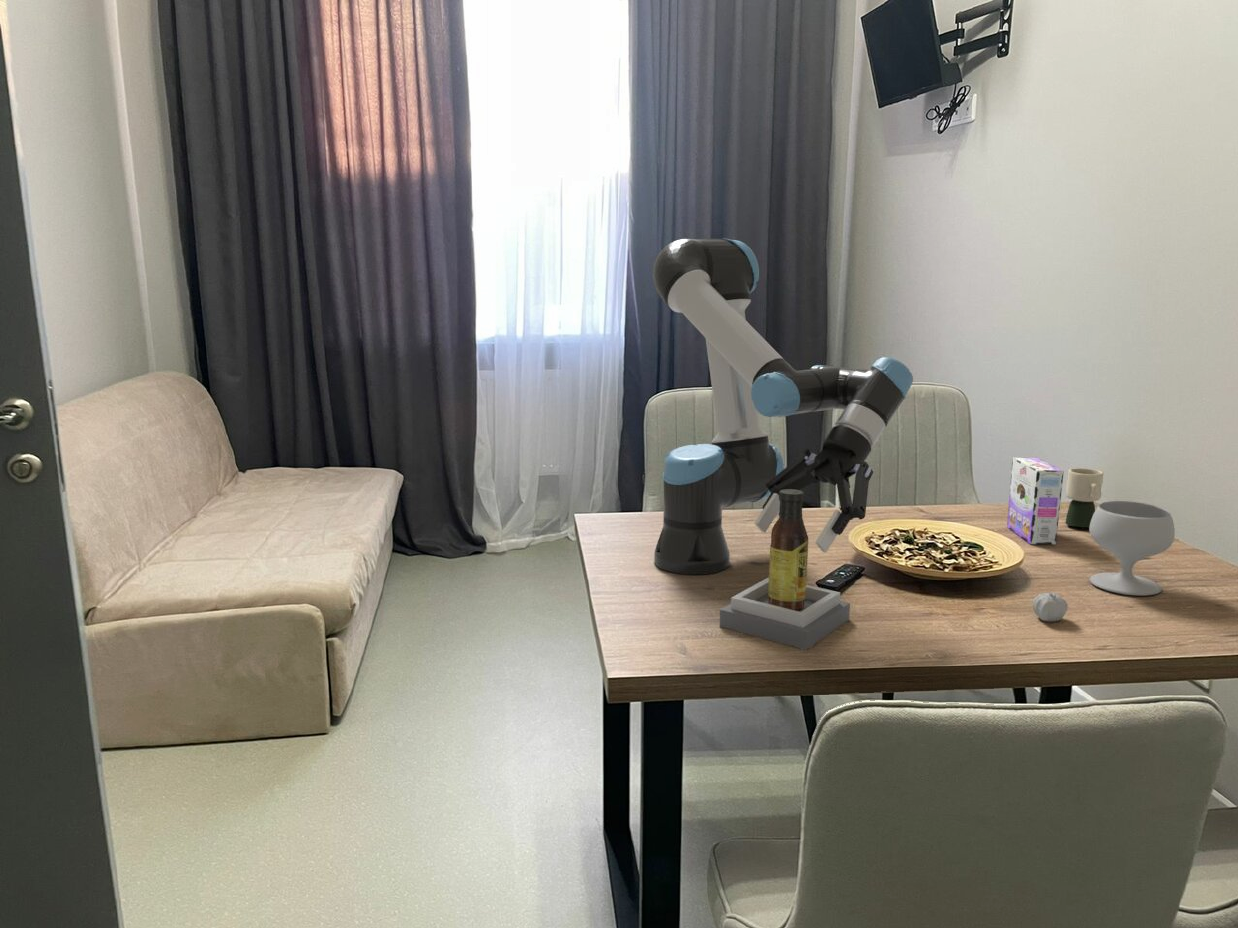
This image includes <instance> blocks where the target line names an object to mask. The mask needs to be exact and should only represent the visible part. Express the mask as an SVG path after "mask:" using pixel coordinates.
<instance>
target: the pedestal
mask: <svg viewBox="0 0 1238 928" xmlns="http://www.w3.org/2000/svg"><path fill="white" fill-rule="evenodd" d="M768 586H769V576H768V577H767V578H765V579H763V580H762V581H759V582H757V583H756V584H753V585H751V586H749V587H748V588H746V589H744V590H742V591H741V592H739V593H737V594H736V595H733V596H732V597H730V603H729V604H727V605H726V606H724V607H722V608H720V609H719V627H721V628H725V629H727V630H731V631H734V632H735V631H736V632H739V633H743V634H746V635H750V636H754V637H758V638H761V639H764V640H768V641H773V642H775V643H779V644H783V645H787V646H790V647H794V648H796V649H797V648H798V649H801V650H805V651H806V650H808V649H810V648H811V647H813V646H815V644H816V643H818V642H820V641H822V640H823V639H824V638H825V637H827V636H828V635H829V634H831V633H832V632H834V631H835V630H837V629H838V628H840V627H841V626H842V625H844V624H845V623H847V622H848V621H850V610H851V602H847V601H843V600H841V591H837V590H836V591H835V590H831V589H827V588H824V587H823V588H822V587H818V586H813V585H809V584H806V597H805V603H804V606H803V608H801V609H799V610H791V609H786V608H782V607H778V606H774V605H770V604H769V603H768V600H769V596H768Z"/></svg>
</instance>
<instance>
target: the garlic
mask: <svg viewBox="0 0 1238 928" xmlns="http://www.w3.org/2000/svg"><path fill="white" fill-rule="evenodd" d="M1068 607H1069V605H1068V603H1067V600H1065V598H1063V597H1061V596H1060V595H1059V594H1057V593H1054V592H1053V591H1049V592H1043V593H1039V594H1038V595H1037V596H1035V597H1034V599H1033V601H1032V610H1033V612H1034V614H1035V615H1036V616H1037V617H1038V618H1039V619H1040V620H1041V621H1042V622H1057V621H1060V620H1062V619H1063V618H1064V616H1065V615H1066V613H1067V611H1068Z"/></svg>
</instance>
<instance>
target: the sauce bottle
mask: <svg viewBox="0 0 1238 928" xmlns="http://www.w3.org/2000/svg"><path fill="white" fill-rule="evenodd" d="M804 500H805V492H804V491H803V490H801V489H800V490H795V489H784V490H780V491H779V501H780V511H779V512H778V519H777V520H776V522H775V523H774V525H773V527H772V528H771V534H770V538H771V539H770V545H769V567H768V577H769V586H768V596H769V600H768V603H769V604H770V605H774V606H778V607H782V608H786V609H791V610H799V609H801V608H803V606H804V603H805V597H806V585H807V575H808V556H809V555H808V553H809V536H808V533H807V530H806V526H805V523H804V519H803V502H804Z"/></svg>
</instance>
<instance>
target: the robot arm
mask: <svg viewBox="0 0 1238 928" xmlns="http://www.w3.org/2000/svg"><path fill="white" fill-rule="evenodd" d="M758 262H759V261H758V259H757V257H756V255H755V253H754V251H753V250H752V249H751V247H750V246H748V245H747V244H746V243H745V242H742V241H740V240H738V239H737V240H735V239H729V238H723V237H722V238H681V239H677V240H674V241H672V242H670V243H669V244H666V246H665V247H664V248H662V249H661V251H660V252H659V254H658V255H657V257H656V259H655V261H654V264H653V269H652V270H653V271H652V275H653V283H654V286H655V289H656V292H657V293H658V295H659V297H660V299H661V300H663V302H665V304H666V305H667V306H668V307H669V308H670V309H671V310H672V311H673V312H675V313H679V314H682V315H684V317H685V318H686V319H687V320H688V321H689V322H690V323H691V324H692V325H693V326H694V328H695V329H697V330H698V331H699V333H700V334H701V335H702V336H703V337H704V339H705V345H706V350H707V351H706V352H707V359H708V367H709V374H710V375H709V376H710V383H711V390H712V398H713V405H714V406H713V407H714V413H715V421H716V429H717V432H716V435H715V436H714V437H713V439H712V440H711V444H709V443H698V444H696V445H695V444H688V445H684V446H680V447H676V448H674V449H672V450H671V451H670V452H668V453H667V455H666V457H665V458H664V464H663V465H664V466H663V473H662V478H663V523H662V524H663V525H662V528H661V532H660V534H659V538H658V540H657V543H656V546H655V548H654V554H653V555H654V557H653V558H654V559H653V560H654V561H653V562H654V564H655V566H656V567H658V568H660V569H661V570H664V571H667V572H669V573H673V574H674V573H675V574H680V575H681V574H682V575H706V574H714V573H718V572H721V571H725V569H727V568H728V567H729V566H730V563H731V562H730V558H731V557H730V556H731V553H730V550H729V548H728V543H727V540H726V536H725V533H724V530H723V526H722V525H723V524H722V523H723V521H722V520H723V508H728V507H732V506H738V505H742V504H747V503H757V502H759V501H761V500H764V499H766V501H765V502H764V503H763V505H762V511H760V514H759V515H758V517H757V518H756V520H754V521H755V522H754V525H755V526H756V527H757V529H759V530H760V532H761V533H764V534H766V532H767V531H768V529H769V528H770V526H771V524H772V523H773V522H774V520H775V518H776V516H777V515H779V511H780V501H779V491H780V490H784V489H795V490H800V491H801V490H802V489H804V488H806V487H807V486H809V485H811V484H817V483H819V482H821V483H824V484H825V483H826V484H828V483H829V484H830V485H832V486H836V488H837V493H838V501H839V506H840V507H838V509H840V510H838V509H835V510H834V511H833V513H832V514H831V517H830V518H829V519H828V521H827V522H826V524H825V526H824V528H823V529H822V531H821V532H820V534H819V536H818V537H817V539H816V540H815V543H814V544H816V545H817V547H818V548H819V549H820V550H821V552H822V553H827V552H828V551H829V550H830V547H831V546H832V544H833V543H834V542H835V540H836V538H837V536H838V535H839V536H841V534H843V532H844V530H845V529H846V528H847V526H848V524H849V523H850V521H852V520H853V519H857V518H858V519H859V520H863V519H864V518H865V517H866V512H867V504H868V503H867V501H868V493H869V484H870V481H871V478H872V476H873V474H874V471H873V469H872V468H871V467H870V465H869V463H867V461H866V459H867V458H868V456H869V455H870V453H871V452H872V448H874V446H875V445H876V443H877V441H878V440H879V438H880V437H881V435H882V434H883V432H884V431H885V429H886V427H887V426H888V424H889V422H890V421H891V419H892V417H893V416H894V414H895V413H896V412H897V410H898V408H900V405H901V404H902V403H903V401H904V400H905V399H906V396H907V395H908V392H909V390H910V389H911V387H912V385H913V382H914V376H913V373H912V372H911V370H910V369H909V367H907V366H906V365H905V363H903V362H901V361H899V360H897V359H895V358H892V357H887V356H883V357H880V358H878V359H877V360H875V362H873V364H872V365H871V366H870V369H865V368H864V369H863V368H862V369H861V368H851V367H842V366H835V365H833V364H828V365H827V364H825V365H823V364H822V365H820V364H816V365H813V366H812V367H810V368H809V369H803V370H801V369H800V370H796V369H794V368H793V367H792V366H791V365H790V363H788V362H787V361H786V360H785V359H784V358H783V356H782V355H780V353H779V352H777V351H776V349H774V348H773V347H772V346H771V344H769V342H768V341H766V339H765V338H764V337H763V336H762V335H761V334H760V333H759V332H758V331H757V330H756V329H755V328H754V327H753V326H752V325H751V324H750V323H749V321H747V320H746V319H747V318H746V313H745V311H746V309H747V308H748V306H749V305H750V304H751V302H752V299H751V293H753V292H754V291H755V289H756V287H757V282H759V279H760V268H759V263H758ZM834 409H835V410H843V411H842V412H841V414H840V416H839V417H838V419H837V420H836V422H835V424H834V425H835V426H833V427H831V429H830V432H829V433H828V434H827V436H826V438H824V440H823V444H822V450H821V451H819V453H817V454H815V453H813V452H811V450H810V449H809V448H805V449H804V450H803V451H802V452H801V454H800V455H799V457H797V458H796V459H795V460H793V462H791V463H790V464H789V465H787V466H786V467H785V464H784V458H783V455H782V454H781V452H780V451H778V448H777V447H776V446H775V445H773V444H772V443H770V441H769V434H768V433H767V432H766V431H764V430H763V429H762V428H761V427H760V421H759V414H760V415H762V416H764V417H766V418H767V417H768V418H776V417H777V418H783V417H788V416H789V417H791V416H792V415H798V414H805V413H813V412H819V411H829V410H834ZM813 471H814V472H813ZM853 475H855V477H854V485H853V487H854V488H853V496H851V489H850V488H851V484H850V483H851V482H850V477H852V476H853Z"/></svg>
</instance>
